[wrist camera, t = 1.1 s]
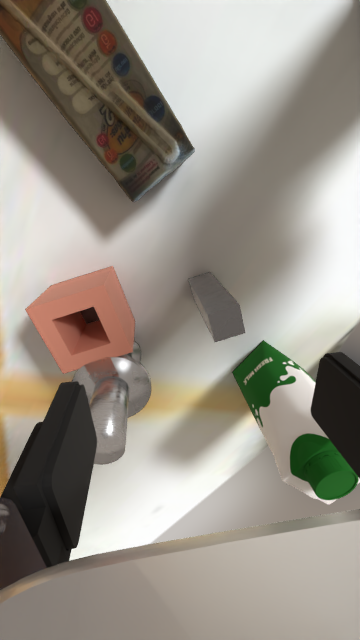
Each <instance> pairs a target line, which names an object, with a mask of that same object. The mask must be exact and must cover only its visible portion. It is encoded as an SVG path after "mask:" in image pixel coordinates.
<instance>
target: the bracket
mask: <svg viewBox="0 0 360 640" xmlns="http://www.w3.org/2000/svg"><path fill="white" fill-rule="evenodd" d="M91 307H94V308H95V310H96V312H97V315H98V317H99V319H100V320H97V321H94V322H91V323H88V324H86V323H85V321H84V318H83V316H82V314H81V312H80V311H82V310H85V309H88V308H91ZM25 310H26V312H27V313H28V315H29V317H30V318H31V320H32V322H33V323H34V325H35V327H36V329H37V330H38V332H39V334H40V335H41V337H42V339H43V340H44V342H45V344H46V346H47V347H48V349H49V351H50V352H51V354H52V356H53V357H54V359H55V361H56V363H57V364H58V366H59V368H60V369H61V371H62V373H63V374H64V373H67V372H71V371H74V370H77V369H80V368H81V367H82V366H84V365H86V364H88V366H87V365H86V367H87V369H88V368H89V367H90V365H89V364H91V362H92V364H91V369H92V370H93V366H94V370H95V371H97V368H102V367H101V366H102V365H103V364H105V365H108V363H110V362H111V363H110V364H109V366H105V365H104V366H105V367H108V369H109V367H112V366H113V367H112V368H113V369H114V370H115V369H116V368H114V365H112V366H110V365H111V364H112V363H113V362H112V361H110V362H107V364H106V361H109V360H111V358H110V359H109V357H112V358H113V357H118V356H122V355H125V354H128V353H131V352H133V344H134V331H135V320H134V317H133V315H132V312H131V310H130V307H129V305H128V303H127V300H126V298H125V295H124V293H123V290H122V288H121V285H120V283H119V280H118V278H117V275H116V273H115V270H114V268H113V266H111V267H108V268H105V269H101V270H98V271H95V272H92V273H89V274H86V275H83V276H79V277H76V278H73V279H70V280H67V281H64V282H60V283H57V284H54V285H51V286H50V287H49V288H48V289H47V290H46V291H45V292H44V293H42V294H41V295H40V296H39V297H38V298H37V299H36V300H35V301H34V302H33V303H32V304H31V305H29V306H28V307H27V308H26V309H25ZM106 357H107V358H106ZM103 358H104V359H103ZM98 359H102V360H101V361H102V362H103V364H102V362H101V361H100V360H98ZM105 359H106V360H105ZM97 360H98V363H100V362H101V364H102V365H101V366H100V365H99V364H97V363H95V361H96V362H97ZM103 360H105V361H103ZM93 361H94V363H95V364H94V363H93ZM89 362H90V363H89ZM93 364H94V365H93ZM96 364H97V365H99V367H98V366H97V365H96ZM92 365H93V366H92ZM86 367H85V368H86ZM95 367H97V368H96V369H95ZM112 368H111V369H112ZM87 369H86V370H87ZM91 369H90V370H91ZM103 369H104V370H106V368H104V367H103ZM108 369H107V370H108ZM113 369H112V370H111V371H113ZM94 370H93V371H94ZM100 370H101V369H100ZM100 370H98V371H100ZM107 370H106V371H107ZM109 370H110V369H109ZM109 370H108V371H109ZM93 371H91V372H93ZM98 371H97V372H96V373H99V372H98ZM106 371H105V372H106ZM111 371H110V373H111ZM87 372H88V370H87ZM101 372H103V370H102V371H101ZM105 372H104V373H105ZM114 372H116V371H114ZM114 372H113V373H114ZM93 373H94V372H93ZM104 373H101V374H104ZM117 373H118V372H117ZM117 373H116V374H115V373H114V374H113V376H114V375H115V376H116V375H117ZM89 374H91V373H90V371H89ZM106 374H107V373H106ZM106 374H104V375H99V374H98V375H99V377H100V376H102V377H103V376H104V377H105V376H106V377H108V375H106ZM91 375H93V374H91ZM98 375H97V374H96V376H98ZM89 376H90V375H89ZM96 376H95V377H96ZM109 376H111V374H109ZM92 377H94V376H92ZM92 377H91V378H92ZM102 377H101V378H100V379H102ZM104 377H103V378H104ZM116 377H119V374H118V376H116ZM94 379H95V378H94ZM100 379H99V380H100ZM92 380H93V378H92ZM95 380H96V379H95ZM96 382H98V380H97V381H96ZM94 384H95V385H96V383H94Z"/></svg>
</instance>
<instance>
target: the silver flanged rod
mask: <svg viewBox="0 0 360 640" xmlns="http://www.w3.org/2000/svg"><path fill="white" fill-rule="evenodd" d="M106 358H107V357H106ZM110 358H111V360H109V361H106V364H107V362H110V361H112V362H113V363H112V364H111V365H110V366H112V365H114V368H116V369H115V370H114V369H113V368H112V367H113V366H112V367H109V369H110V370H109V369H108V367H105V366H109V364H110V363H111V362H110V363H108V365H105V364H103V362H102V361H101V360H102V359H98V360H100V361H101V362H102V364H103V365H102V364H101V362H100V363H98V360H97V362H96V361H95V363H97V364H99V365H100V366H101V365H102V366H101V367H102V368H97V367H95V369H96V368H97V371H98V370H100V369H101V370H100V371H98V372H99V373H96V372H97V371H95V370H94V366H93V365H94V364H95V363H94V361H93V363H94V364H93V365H92V366H93V370H94V371H93V370H92V369H91V364H92V362H91V364H89V365H90V367H89V368H88V369H87V367H86V365H87V366H88V364H86V365H84V366H82V367H81V368H80V369H77V371H76V373H75V375H74V378H73V380H72V382H74V381H78V382H79V385H84V386H85V390H86V394H87V398H88V402H89V407H90V411H91V415H92V419H93V423H94V427H95V431H96V436H97V449H96V454H95V459H94V464H109V463H112V462H114V461H116V460H118V459H119V458H120V457H121V456H122V455H123V453H124V451H125V442H126V429H127V418H128V417H131V416H133V415H135V414H136V413H138V412H139V411H140V410H141V409H142V408H143V407H144V406H145V405H146V404H147V402H148V400H149V398H150V395H151V380H150V376H149V374H148V372H147V370H146V369H145V367H144V366H143V365H142V364H141V363H140V360H141V351H140V347H139V345H138V344H137V343H136V342H135V341H134V344H133V352H131V353H128V354H125V355H122V356H118V357H113V358H112V357H109V359H110ZM103 359H104V358H103ZM105 360H106V359H105ZM105 360H103V361H105ZM89 363H90V362H89ZM97 364H96V365H97ZM99 365H97V366H98V367H99ZM104 365H105V366H104ZM85 367H86V368H85ZM103 367H104V368H106V370H107V369H108V370H109V371H108V370H107V371H106V370H104V369H103ZM111 368H112V369H113V371H111V370H112V369H111ZM86 369H87V370H88V372H87V370H86ZM90 369H91V370H90ZM102 370H103V372H101V371H102ZM89 371H90V373H91V374H93V375H91V374H89ZM91 371H93V372H94V373H93V372H91ZM105 371H106V372H105ZM110 371H111V373H110ZM114 371H116V372H114ZM104 372H105V373H104ZM113 372H114V373H115V374H116V373H117V372H118V373H117V375H116V376H118V374H119V377H116V376H115V375H114V376H113V374H114V373H113ZM101 373H104V374H106V373H107V374H106V375H108V377H106V376H105V377H104V376H103V377H104V378H103V377H102V376H100V377H99V375H104V374H101ZM96 374H97V375H98V374H99V375H98V376H96ZM109 374H111V376H109ZM89 375H90V376H89ZM92 376H94V377H92ZM95 376H96V377H95ZM91 377H92V378H93V380H92V378H91ZM101 377H102V379H100V378H101ZM94 378H95V379H96V380H95V379H94ZM99 379H100V380H99ZM97 380H98V382H96V381H97ZM94 383H96V385H95V384H94Z"/></svg>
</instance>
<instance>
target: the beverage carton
mask: <svg viewBox="0 0 360 640" xmlns="http://www.w3.org/2000/svg"><path fill="white" fill-rule="evenodd" d="M0 35H1V36H2V37H3V39H4V40H5V41H6V43H7V44H8V45H9V47H10V48H11V49H12V51H13V52H14V53H15V55H16V56H17V57H18V59H19V60H20V61H21V63H22V64H23V65H24V67H25V68H26V69H27V70H28V72H29V73H30V74H31V76H32V77H33V78H34V79H35V81H36V82H37V83H38V84H39V86H40V87H41V88H42V90H43V91H44V92H45V93H46V95H47V96H48V97H49V99H50V100H51V101H52V102H53V104H54V105H55V106H56V108H57V109H58V110H59V111H60V113H61V114H62V115H63V116H64V118H65V119H66V120H67V121H68V123H69V124H70V125H71V126H72V128H73V129H74V130H75V131H76V133H77V134H78V135H79V136H80V137H81V139H82V140H83V141H84V142H85V143H86V145H87V146H88V147H89V148H90V149H91V151H92V152H93V153H94V154H95V156H96V157H97V158H98V159H99V160H100V162H101V163H102V164H103V165H104V166H105V168H106V169H107V170H108V171H109V172H110V173H111V174H112V175H113V177H114V178H115V179H116V181H117V182H118V184H119V186H120V187H121V188H122V189H123V190H124V192H125V193H126V194H127V196H128V197H129V198H130V199H131V201H133V202H134V201H138V200H139V199H140V198H141V197H142V196H143V195H144V194H145V193H146V192H147V191H149V190H150V189H151V188H152V187H154V186H155V185H156V184H157V183H159V182H160V181H161V180H162V179H163V178H164V177H165V176H167V175H168V174H170V173H172V172H173V171H174V170H175V169H176V168H177V167H179V166H180V165H181V164H182V163H183V162H184V161H185V160H186V159H187V158H189V157H190V156H191V155H192V154H193V153H194V151H195V149H194V147H193V146H192V144H191V143H190V141H189V139H188V137H187V136H186V134H185V132H184V130H183V128H182V126H181V124H180V123H179V121H178V120H177V118H176V117H175V115H174V113H173V111H172V110H171V108H170V106H169V105H168V103H167V101H166V100H165V98H164V96H163V95H162V93H161V92H160V90H159V88H158V87H157V85H156V83H155V82H154V80H153V78H152V76H151V75H150V73H149V72H148V70H147V68H146V66H145V64H144V63H143V61H142V60H141V58H140V56H139V55H138V53H137V51H136V50H135V48H134V46H133V45H132V43H131V41H130V40H129V38H128V36H127V35H126V33H125V31H124V30H123V28H122V26H121V25H120V23H119V21H118V20H117V18H116V16H115V15H114V13H113V11H112V10H111V8H110V6H109V5H108V3H107V1H106V0H0Z"/></svg>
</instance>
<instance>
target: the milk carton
mask: <svg viewBox="0 0 360 640" xmlns="http://www.w3.org/2000/svg"><path fill="white" fill-rule="evenodd" d="M232 373H233V375H234V377H235V379H236V381H237V383H238V385H239V387H240V389H241V391H242V393H243V396H244V398H245V400H246V401H247V403H248V406H249V408H250V410H251V412H252V414H253V416H254V418H255V419H256V421H257V423H258V425H259V427H260V429H261V431H262V433H263V435H264V437H265V439H266V441H267V443H268V445H269V447H270V449H271V451H272V453H273V456H274V458H275V461H276V464H277V467H278V470H279V472H280V476H281V478H282V480H283V482H285V483H287V484H289V485H291V486H292V487H294V488H296V489H298V490H300V491H302V492H303V493H305V494H307V495H308V496H310V497H312V498H314V499H316V498H317V499H319V500H321V501H322V502H324V503H326V504H328V505H329V504H331V503H332V502H334V501H335V500H336V499H339V498H341V497H343V496H345V495H347V494H348V493H350V492H351V491H352V490H353V489H354V488H355V487H356V485H357V484H358V483H359V482H360V479H359V477H358V476H357V475H356V473H355V472H354V471H353V470H352V468H351V467H350V466H349V464H348V463H347V462H346V460H345V459H344V458H343V456H342V455H341V454H340V453H339V451H338V450H337V449H336V447H335V446H334V445H333V443H332V442H331V441H330V440H329V438H328V437H327V436H326V434H325V433H324V432H323V430H322V429H321V428H320V427H319V425H318V424H317V423H316V421H315V420H314V419H313V417H312V415H311V404H312V399H313V394H314V389H315V384H316V382H315V381H314V379H313V378H312V377H311V376H310V375H309V374H308V373H307V372H306V371H305V370H304V369H302V368H301V367H300V366H298V365H297V364H296V363H295V362H293V361H292V360H290V359H289V358H288V357H286V356H285V355H283V354H282V353H281V352H279V351H278V350H276V349H275V348H274V347H272V346H271V345H269V344H268V343H266V342H265V341H264V340H263V341H262V343H261V344H260V345H259V346H258V347H257V348H256V349H255V350H254V351H253V352H252V353H251V354H250V355H249V356H248V357H247V358H246V359H245V360H244V361H243V362H242V363H241V364H240V365H239V366H238V367H237V368H236V369H235V370H234V371H233V372H232Z"/></svg>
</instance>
